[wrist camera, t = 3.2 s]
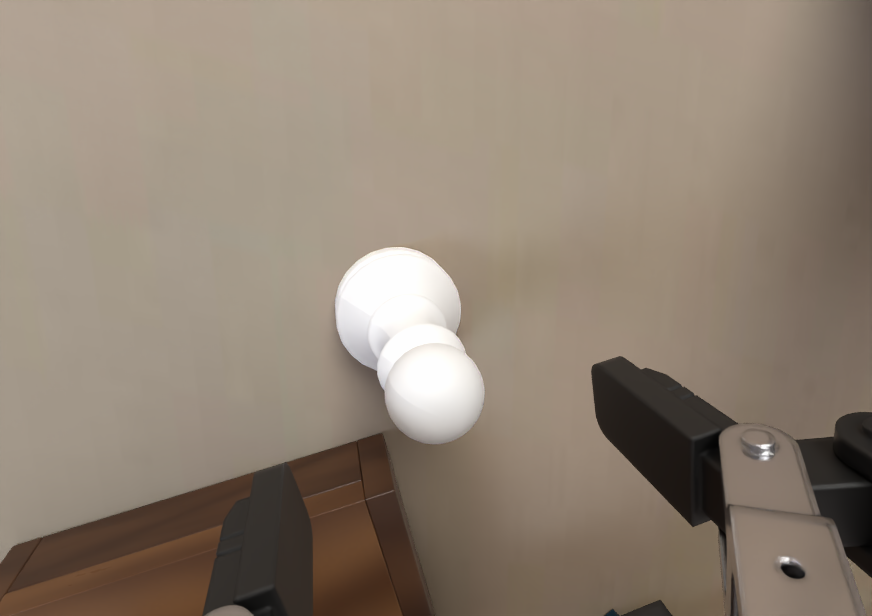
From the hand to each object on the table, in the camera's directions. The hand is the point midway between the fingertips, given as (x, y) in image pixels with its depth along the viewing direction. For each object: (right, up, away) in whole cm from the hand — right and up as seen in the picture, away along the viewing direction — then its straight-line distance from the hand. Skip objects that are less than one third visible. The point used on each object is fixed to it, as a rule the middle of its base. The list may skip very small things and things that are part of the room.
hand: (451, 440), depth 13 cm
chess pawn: (-2, +4, +9) cm, 10 cm away
